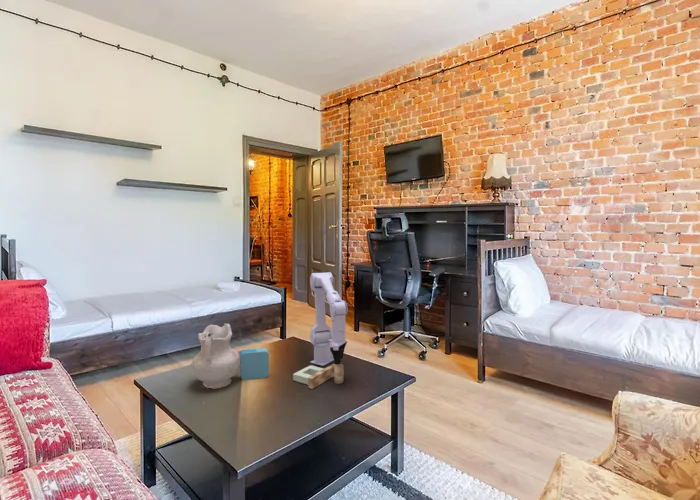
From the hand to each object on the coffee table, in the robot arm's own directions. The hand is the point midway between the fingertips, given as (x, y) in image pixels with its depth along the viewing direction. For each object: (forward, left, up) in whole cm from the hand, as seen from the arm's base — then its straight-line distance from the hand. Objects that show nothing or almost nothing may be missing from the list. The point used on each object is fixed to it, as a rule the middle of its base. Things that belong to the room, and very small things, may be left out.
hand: (338, 361), depth 163 cm
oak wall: (+3, -6, -9) cm, 11 cm away
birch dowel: (0, 0, -9) cm, 9 cm away
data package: (+16, -34, -9) cm, 39 cm away
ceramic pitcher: (+30, -42, -9) cm, 52 cm away
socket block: (+4, -12, -9) cm, 15 cm away
